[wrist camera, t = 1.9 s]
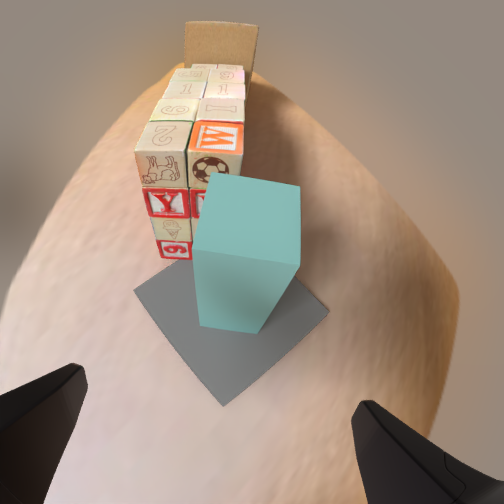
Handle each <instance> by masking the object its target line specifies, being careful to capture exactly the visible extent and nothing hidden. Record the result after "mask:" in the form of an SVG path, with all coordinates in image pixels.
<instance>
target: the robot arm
mask: <svg viewBox="0 0 504 504" xmlns="http://www.w3.org/2000/svg"><path fill="white" fill-rule="evenodd" d="M87 389H88V384H87V379H86V375H85V370H84V368H83V366H81V365H78V364H75V363H70V364H68V365H66V366H64V367H61V368H59V369H57V370H55V371H53V372H51V373H49V374H46V375H44V376H42V377H40V378H38V379H36V380H33V381H31V382H29V383H27V384H25V385H22V386H20V387H18V388H16V389H14V390H11V391H9V392H7V393H5V394H2V395H0V504H43V503H44V500H45V498H46V495H47V492H48V489H49V487H50V484H51V482H52V479H53V477H54V474H55V472H56V469H57V467H58V464H59V462H60V459H61V457H62V455H63V452H64V450H65V448H66V446H67V443H68V441H69V439H70V437H71V434H72V432H73V430H74V428H75V425H76V422H77V419H78V416H79V413H80V410H81V407H82V404H83V401H84V398H85V395H86V393H87ZM351 424H352V430H353V437H354V444H355V451H356V457H357V462H358V466H359V470H360V474H361V477H362V481H363V485H364V489H365V493H366V497H367V501H368V504H504V481H500V480H496V479H494V478H492V477H490V476H487V475H485V474H483V473H481V472H479V471H477V470H475V469H473V468H471V467H470V466H468V465H466V464H464V463H462V462H460V461H459V460H457V459H456V458H454V457H453V456H451V455H450V454H448V453H446V452H444V451H443V450H442V449H441V448H439V447H438V446H436V445H435V444H433V443H432V442H430V441H429V440H427V439H426V438H425V437H423V436H422V435H420V434H419V433H417V432H416V431H415V430H413V429H412V428H410V427H409V426H408V425H406V424H405V423H403V422H402V421H401V420H399V419H398V418H396V417H395V416H394V415H392V414H391V413H390V412H388V411H387V410H386V409H384V408H383V407H381V406H380V405H379V404H377V403H376V402H375V401H373V400H363V401H361V402H360V403H359V405H358V407H357V409H356V410H355V412H354V414H353V416H352V420H351Z"/></svg>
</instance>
